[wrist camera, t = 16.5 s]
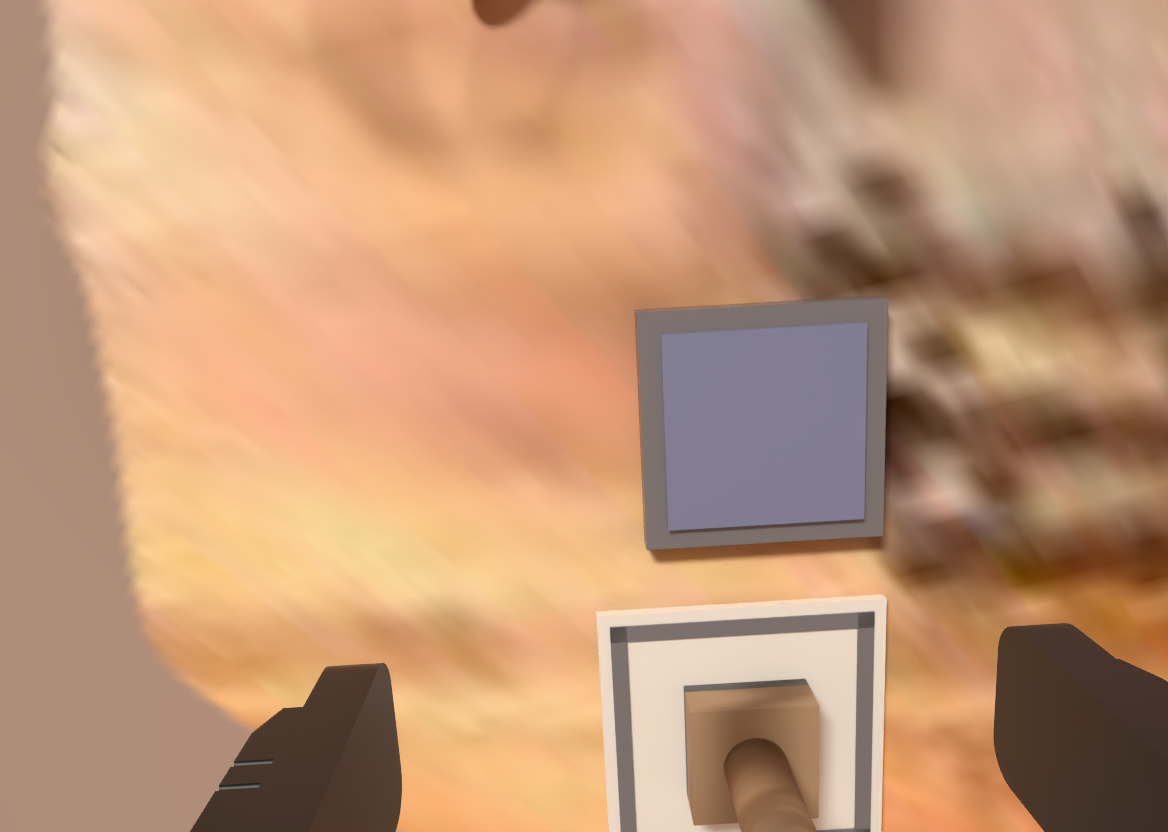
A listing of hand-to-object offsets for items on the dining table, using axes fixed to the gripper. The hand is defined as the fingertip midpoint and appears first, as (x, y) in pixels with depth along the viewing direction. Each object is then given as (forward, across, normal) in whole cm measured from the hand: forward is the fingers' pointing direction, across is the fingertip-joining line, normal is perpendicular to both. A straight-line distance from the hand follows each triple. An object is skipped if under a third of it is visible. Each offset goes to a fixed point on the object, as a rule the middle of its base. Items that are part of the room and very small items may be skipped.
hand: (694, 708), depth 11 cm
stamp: (+28, -6, +19) cm, 34 cm away
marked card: (+28, -6, +19) cm, 34 cm away
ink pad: (+28, -7, +3) cm, 29 cm away
